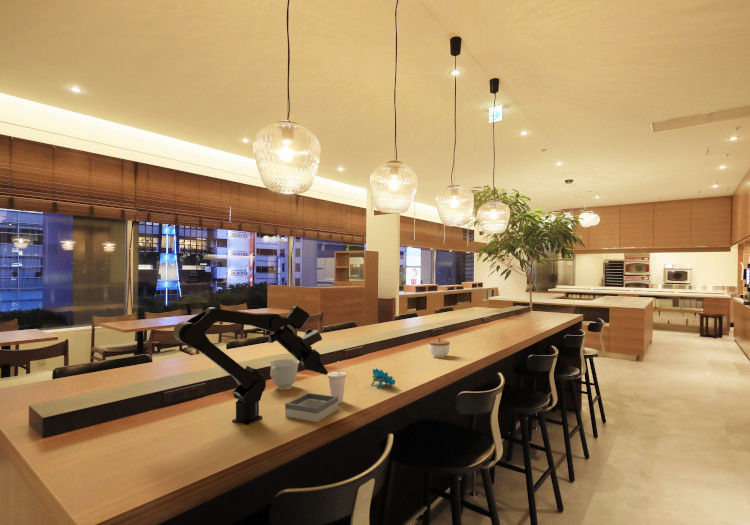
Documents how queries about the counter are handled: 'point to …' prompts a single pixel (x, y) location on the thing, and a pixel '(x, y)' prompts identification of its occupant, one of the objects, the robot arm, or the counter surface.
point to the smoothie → (337, 384)
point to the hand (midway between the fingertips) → (323, 370)
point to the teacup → (284, 372)
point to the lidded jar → (439, 348)
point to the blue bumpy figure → (382, 377)
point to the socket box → (311, 407)
